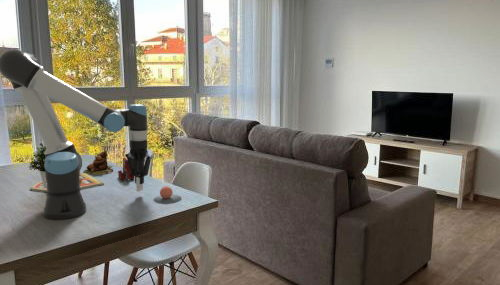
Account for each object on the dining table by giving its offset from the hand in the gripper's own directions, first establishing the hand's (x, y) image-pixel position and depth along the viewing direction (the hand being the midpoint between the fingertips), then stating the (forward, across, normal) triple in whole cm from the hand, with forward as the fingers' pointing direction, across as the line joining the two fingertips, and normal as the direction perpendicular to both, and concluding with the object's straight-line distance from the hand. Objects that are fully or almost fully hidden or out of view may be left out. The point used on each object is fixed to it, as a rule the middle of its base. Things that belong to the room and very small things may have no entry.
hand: (139, 190), depth 171 cm
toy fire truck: (+3, +23, -21) cm, 31 cm away
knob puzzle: (+4, +45, -2) cm, 45 cm away
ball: (0, -13, -1) cm, 13 cm away
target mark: (+2, -14, 0) cm, 14 cm away
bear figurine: (+3, +45, -28) cm, 53 cm away
